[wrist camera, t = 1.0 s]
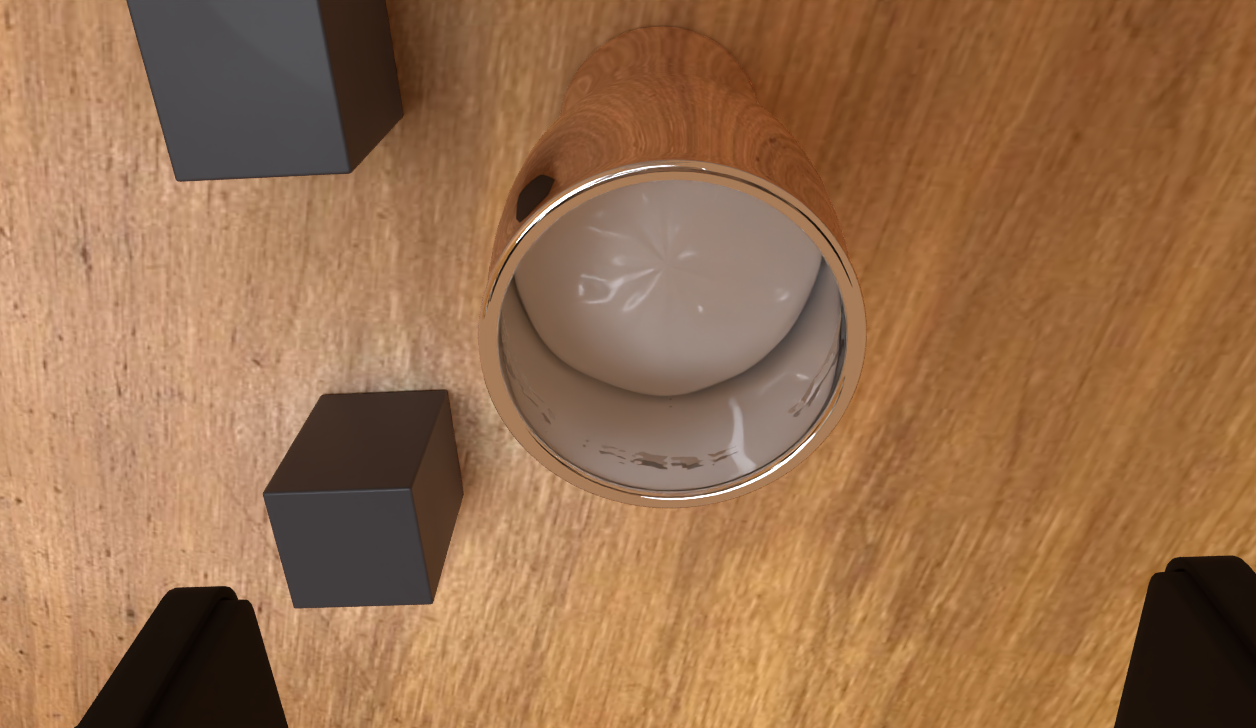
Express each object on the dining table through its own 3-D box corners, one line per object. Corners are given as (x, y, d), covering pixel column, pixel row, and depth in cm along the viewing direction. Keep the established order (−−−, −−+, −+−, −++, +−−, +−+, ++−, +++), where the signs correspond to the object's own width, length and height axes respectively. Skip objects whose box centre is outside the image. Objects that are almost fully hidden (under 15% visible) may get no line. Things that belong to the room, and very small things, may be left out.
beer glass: (504, 162, 30) (393, 403, 17) (625, -41, 27) (606, 56, 14) (689, 275, 32) (721, 577, 18) (820, 95, 29) (969, 296, 16)
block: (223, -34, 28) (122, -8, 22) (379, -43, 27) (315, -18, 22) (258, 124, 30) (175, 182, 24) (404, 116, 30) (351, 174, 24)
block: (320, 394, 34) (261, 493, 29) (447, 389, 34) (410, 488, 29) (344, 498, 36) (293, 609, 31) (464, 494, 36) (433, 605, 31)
